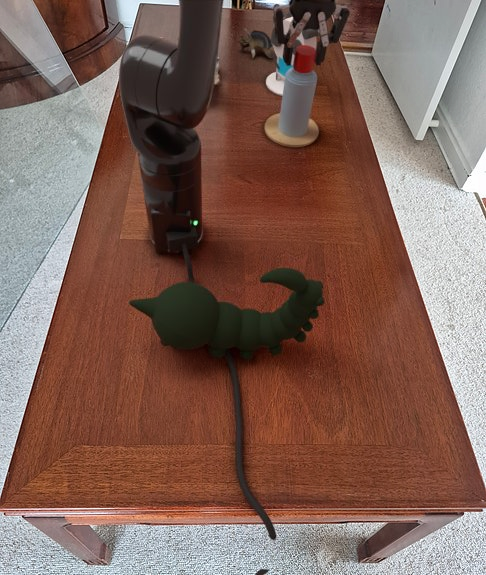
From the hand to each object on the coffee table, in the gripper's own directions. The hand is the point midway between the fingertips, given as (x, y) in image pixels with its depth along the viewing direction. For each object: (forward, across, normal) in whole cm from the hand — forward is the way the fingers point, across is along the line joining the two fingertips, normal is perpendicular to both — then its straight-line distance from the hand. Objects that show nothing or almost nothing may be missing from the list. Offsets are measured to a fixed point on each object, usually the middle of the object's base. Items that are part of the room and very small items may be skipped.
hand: (302, 63), depth 90 cm
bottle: (+15, 0, 0) cm, 15 cm away
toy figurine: (+15, -22, -51) cm, 58 cm away
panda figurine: (+15, +3, +19) cm, 24 cm away
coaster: (+15, 0, 0) cm, 15 cm away
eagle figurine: (+15, -2, +33) cm, 36 cm away
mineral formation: (+15, -21, +21) cm, 33 cm away
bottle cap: (+1, 0, 0) cm, 1 cm away
